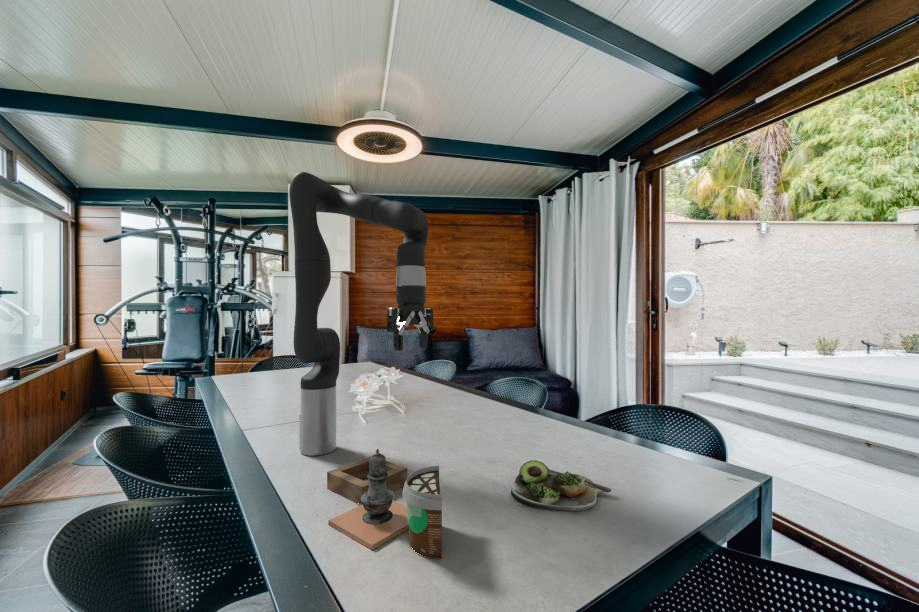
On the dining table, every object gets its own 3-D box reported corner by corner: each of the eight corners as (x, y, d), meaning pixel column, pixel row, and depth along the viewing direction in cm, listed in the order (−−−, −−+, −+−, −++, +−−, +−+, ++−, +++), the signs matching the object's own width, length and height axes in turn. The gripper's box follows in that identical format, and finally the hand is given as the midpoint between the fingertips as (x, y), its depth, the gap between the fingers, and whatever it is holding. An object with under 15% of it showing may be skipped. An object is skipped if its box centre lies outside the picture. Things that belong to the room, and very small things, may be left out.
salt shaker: (386, 527, 67) (386, 455, 67) (354, 523, 68) (354, 453, 68) (399, 510, 72) (398, 444, 73) (369, 507, 74) (369, 442, 74)
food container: (404, 522, 70) (404, 465, 70) (439, 520, 70) (439, 464, 70) (400, 567, 57) (399, 498, 57) (442, 564, 58) (441, 496, 58)
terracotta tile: (328, 524, 69) (328, 520, 69) (381, 499, 78) (381, 495, 78) (372, 550, 61) (372, 545, 61) (425, 518, 71) (425, 514, 71)
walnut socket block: (327, 488, 83) (327, 471, 83) (372, 470, 93) (372, 455, 93) (362, 505, 76) (362, 487, 76) (407, 484, 85) (407, 468, 85)
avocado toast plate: (610, 482, 86) (609, 461, 86) (613, 523, 69) (613, 497, 69) (522, 471, 92) (521, 452, 93) (505, 507, 76) (505, 482, 76)
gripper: (420, 287, 107) (420, 346, 107) (379, 284, 96) (379, 350, 96) (440, 285, 103) (441, 347, 102) (400, 282, 92) (400, 352, 91)
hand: (411, 349), depth 99 cm, fingers open, 8 cm apart
